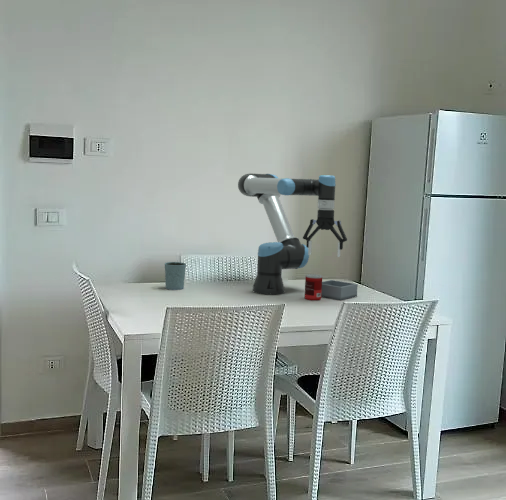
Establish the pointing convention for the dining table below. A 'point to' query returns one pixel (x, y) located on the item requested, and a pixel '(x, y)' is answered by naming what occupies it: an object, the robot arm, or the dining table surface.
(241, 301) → the dining table surface
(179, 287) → the blue-grey cup
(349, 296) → the bin
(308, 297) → the canned food
